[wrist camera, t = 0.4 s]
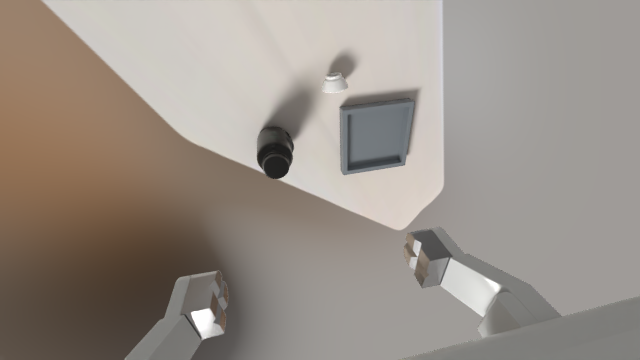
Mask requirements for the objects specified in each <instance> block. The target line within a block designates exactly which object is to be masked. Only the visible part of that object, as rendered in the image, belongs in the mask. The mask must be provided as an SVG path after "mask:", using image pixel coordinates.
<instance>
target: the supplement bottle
mask: <svg viewBox="0 0 640 360" xmlns="http://www.w3.org/2000/svg"><path fill="white" fill-rule="evenodd" d="M285 135H286V136H288V135H287V133H286V132H285V131H284V130H283V129H281V128H278V127H268V128H265V129H264V130H262V131H261V132H260V134H259V136H258V140H257V161H258V164H259V166H260V167H261V168H262V169H263V171H264V173H265V175H267V176H268V177H270V178H273V179H279V178H282V177H284V176H285V175H286V174H287V173H288V170H289V167H290V165H291V163H292V160H293V155H292V150H291V146H290V142H289V140H288V139H287V137H286V136H285ZM287 157H288V158H289V160H288V158H287Z"/></svg>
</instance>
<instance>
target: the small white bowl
mask: <svg viewBox="0 0 640 360" xmlns="http://www.w3.org/2000/svg"><path fill="white" fill-rule="evenodd" d="M347 88H348V84H347V82H346V80H345V79H344V77H342V74H341V73H330V74H327V75H326V79H325V80H324V83H323V86H322V90H323V91H324V92H327V93H337V92H341V91H344V90H345V89H347Z"/></svg>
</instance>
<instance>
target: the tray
mask: <svg viewBox="0 0 640 360" xmlns="http://www.w3.org/2000/svg"><path fill="white" fill-rule="evenodd" d="M414 103H415V101H413V100H411V99H409V98H408V99H400V100H392V101H384V102H376V103H368V104H360V105H352V106H344V107H340V155H341V171H342V173H343V175H348V174H354V173H360V172H366V171H372V170H379V169H385V168H391V167H397V166H403V165H405V161H406V155H407V148H408V142H409V135H410V129H411V122H412V116H413V109H414Z"/></svg>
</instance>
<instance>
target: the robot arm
mask: <svg viewBox="0 0 640 360" xmlns="http://www.w3.org/2000/svg"><path fill="white" fill-rule="evenodd" d="M406 241H407V243H406V244H405V246H404V257H405V259H406V262H407V264H408V265H409V267H411V268H412V269H414V270H415V273H414V275H415V277H416V279H417V281H418V282H419V284H420V286H421V287H422V288H426V287H430V286H436V285H440V286H442V287H443V288H444V289H446V290H447V291H448V292H450V293H451V294H452V295H454V296H455V297H456V298H458V299H459V300H460V301H462V302H463V303H464V304H466V305H467V306H469V307H470V308H471V309H473V310H474V311H475V312H477V313H478V314H479V315H481V316H482V317H483V319H482V321H481V322H480V324H479V325H478V331H479V333H480V334H481V335H482V337H483V338H480V339H476V340H472V341H468V342H464V343H461V344H457V345H453V346H449V347H446V348H442V349H438V350H434V351H430V352H427V353H423V354H419V355H415V356H412V357H408V358H404V359H400V360H640V296H638V297H634V298H630V299H626V300H623V301H619V302H615V303H611V304H608V305H604V306H601V307H596V308H593V309H589V310H585V311H582V312H578V313H574V314H570V315H566V316H561V315H560V314H559V313H558V312H557V311H556V310H555V309H554V308H553V307H552V306H551V305H550V304H549V303H548V302H547V301H546V300H545V299H544V298H543V297H542V296H541V295H540V294H539V293H538V292H537V291H536V290H535V289H534V288H533V287H532V286H531V285H530V284H528V283H526V282H524V281H522V280H520V279H518V278H516V277H514V276H512V275H510V274H508V273H506V272H504V271H502V270H500V269H498V268H496V267H494V266H492V265H490V264H488V263H486V262H484V261H482V260H480V259H478V258H476V257H474V256H472V255H470V254H464V252H462V250H461V249H460V248H459V247H458V246H457V244H456V243H455V242H454V241H453V240H452V239H451V238H450V237H449V235H448V234H447V233H446V232H445V231H444V229H442V228H441V227H436V228H430V229H424V230H420V231H415V232H411V233H408V234H407V235H406ZM221 279H222V275H221V273H220V271H214V272H208V273H203V274H197V275H191V276H185V277H180V278H179V279H178V280H177V281H176V284H175V287H174V290H173V293H172V296H171V299H170V302H169V305H168V308H167V311H166V314H165V318H164V319H162V320H159V322H158V323H157V324H156V325H155V326H154V327H153V328H152V329H151V330H150V331H149V333H148V334H147V335H146V336H145V337H144V338H143V339H142V340H141V341H140V343H139V344H138V345H137V346H136V347H135V348H134V349H133V350H132V351H131V353H130V354H129V355H128V356H127V357H126V358H125V359H124V360H190V359H191V357H192V356H193V353H194V352H195V351H196V349H197V347H198V346H199V344H200V343H201V341H202V340H201V339H205V338H208V337H213V336H216V335H220V334H224V330H225V322H226V315H225V313H224V310H225V308H226V307H227V305H228V290H227V286H226V283H225V282H223V281H221Z"/></svg>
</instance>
